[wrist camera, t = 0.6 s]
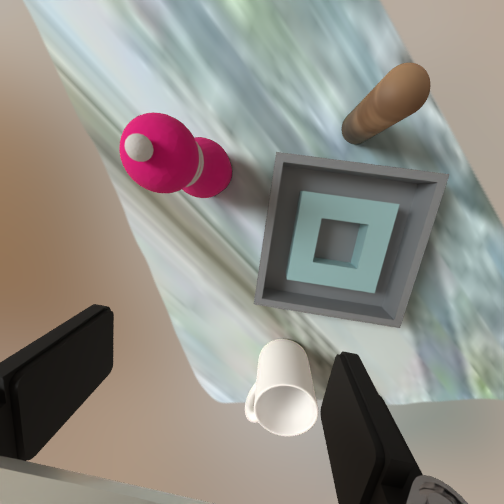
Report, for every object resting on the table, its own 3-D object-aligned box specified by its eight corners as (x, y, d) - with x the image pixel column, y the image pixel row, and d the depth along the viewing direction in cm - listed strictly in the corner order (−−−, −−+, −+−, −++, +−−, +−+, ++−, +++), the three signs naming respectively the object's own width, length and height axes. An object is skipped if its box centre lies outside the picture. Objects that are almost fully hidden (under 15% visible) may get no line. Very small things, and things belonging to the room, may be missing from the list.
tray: (276, 157, 34) (276, 152, 29) (423, 177, 33) (449, 174, 28) (256, 290, 39) (253, 304, 34) (383, 310, 37) (399, 328, 33)
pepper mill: (243, 157, 34) (202, 111, 15) (224, 205, 36) (166, 219, 16) (196, 136, 34) (93, 61, 15) (179, 185, 36) (68, 176, 16)
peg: (345, 109, 31) (387, 60, 20) (376, 112, 31) (436, 65, 20) (338, 142, 32) (374, 113, 21) (368, 145, 32) (422, 119, 21)
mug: (264, 397, 43) (261, 458, 33) (233, 366, 42) (220, 419, 32) (317, 361, 41) (331, 416, 31) (285, 327, 40) (289, 372, 30)
